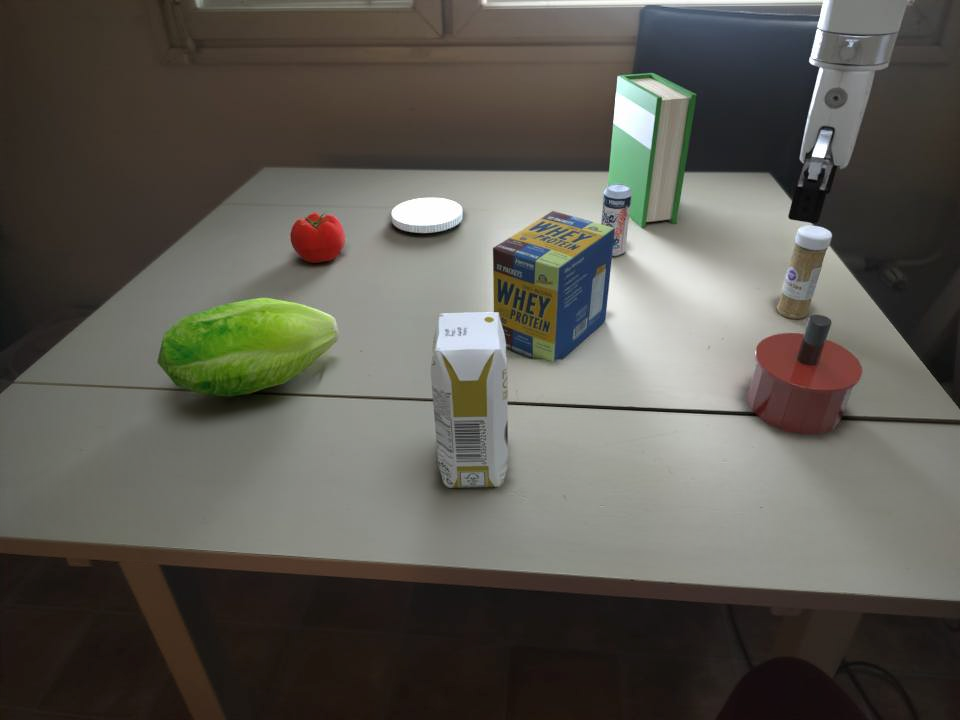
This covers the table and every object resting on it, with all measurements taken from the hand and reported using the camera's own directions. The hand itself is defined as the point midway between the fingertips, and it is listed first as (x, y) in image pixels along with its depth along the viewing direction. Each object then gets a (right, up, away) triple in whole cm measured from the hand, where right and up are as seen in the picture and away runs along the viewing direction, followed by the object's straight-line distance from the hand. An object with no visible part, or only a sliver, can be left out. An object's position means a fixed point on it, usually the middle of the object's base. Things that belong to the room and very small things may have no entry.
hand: (809, 205), depth 79 cm
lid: (0, -19, 0) cm, 19 cm away
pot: (0, -25, +4) cm, 25 cm away
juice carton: (-40, -31, -3) cm, 50 cm away
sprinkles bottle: (+9, -11, +23) cm, 27 cm away
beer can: (-15, +1, +42) cm, 44 cm away
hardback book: (-6, +13, +58) cm, 59 cm away
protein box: (-28, -14, +20) cm, 38 cm away
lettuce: (-69, -22, +12) cm, 73 cm away
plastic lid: (-49, +9, +54) cm, 74 cm away
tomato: (-68, 0, +43) cm, 80 cm away
